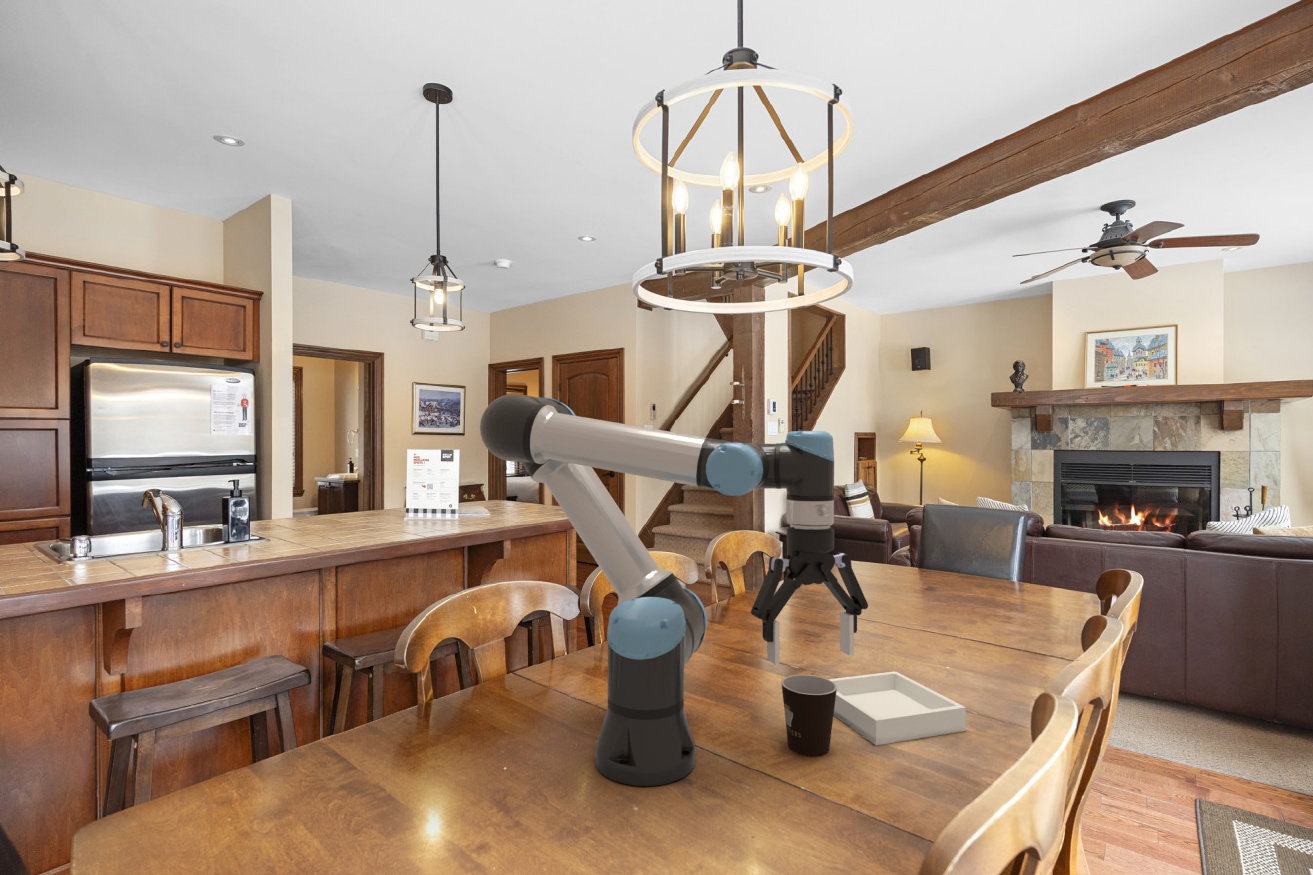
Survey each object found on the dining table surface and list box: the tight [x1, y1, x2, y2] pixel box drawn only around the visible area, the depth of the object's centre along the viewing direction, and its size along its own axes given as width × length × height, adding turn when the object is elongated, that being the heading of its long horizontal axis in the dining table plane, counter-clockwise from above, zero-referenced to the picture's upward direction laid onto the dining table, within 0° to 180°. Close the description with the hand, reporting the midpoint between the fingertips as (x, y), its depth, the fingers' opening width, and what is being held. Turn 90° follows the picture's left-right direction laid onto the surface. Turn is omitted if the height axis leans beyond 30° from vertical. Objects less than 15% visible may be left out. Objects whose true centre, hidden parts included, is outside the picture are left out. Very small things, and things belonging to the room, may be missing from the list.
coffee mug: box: [781, 674, 837, 758], centre depth 105 cm, size 12×9×10 cm
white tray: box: [827, 670, 967, 746], centre depth 115 cm, size 18×18×4 cm
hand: (810, 657), depth 105 cm, fingers open, 13 cm apart
